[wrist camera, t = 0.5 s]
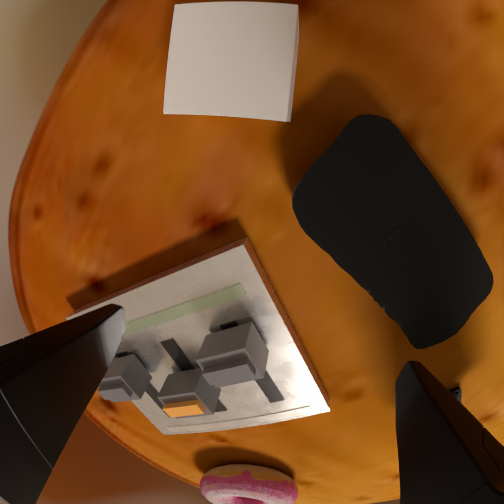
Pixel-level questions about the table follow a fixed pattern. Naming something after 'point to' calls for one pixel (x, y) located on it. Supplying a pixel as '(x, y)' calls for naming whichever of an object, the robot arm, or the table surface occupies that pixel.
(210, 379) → the block
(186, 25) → the white cube
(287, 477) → the donut
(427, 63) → the table surface
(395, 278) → the black sponge
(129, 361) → the breaker
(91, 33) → the table surface
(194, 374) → the breaker
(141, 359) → the panel
